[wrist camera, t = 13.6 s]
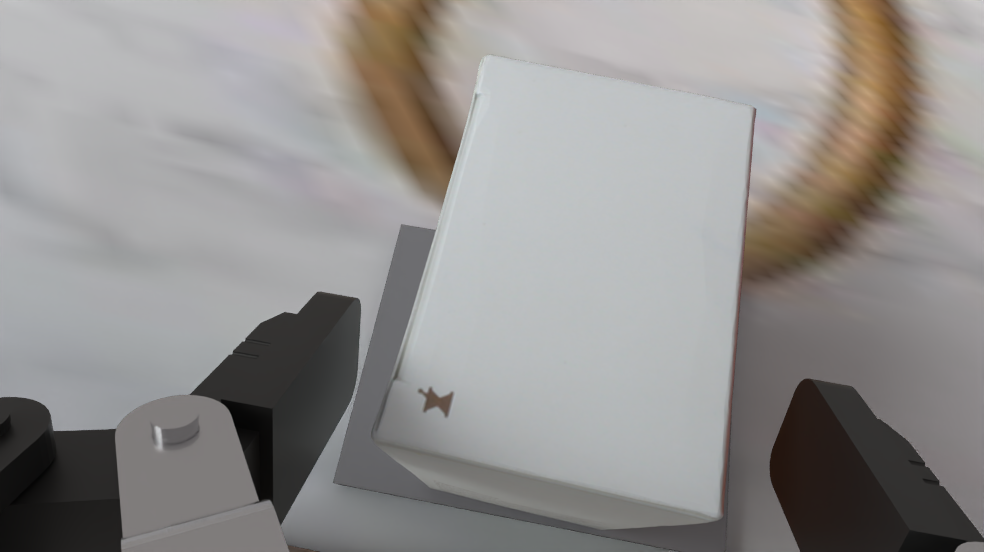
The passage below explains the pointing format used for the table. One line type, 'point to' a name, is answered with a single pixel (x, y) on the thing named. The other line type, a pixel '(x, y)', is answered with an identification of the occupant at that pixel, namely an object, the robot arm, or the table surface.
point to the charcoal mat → (383, 474)
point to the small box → (580, 303)
